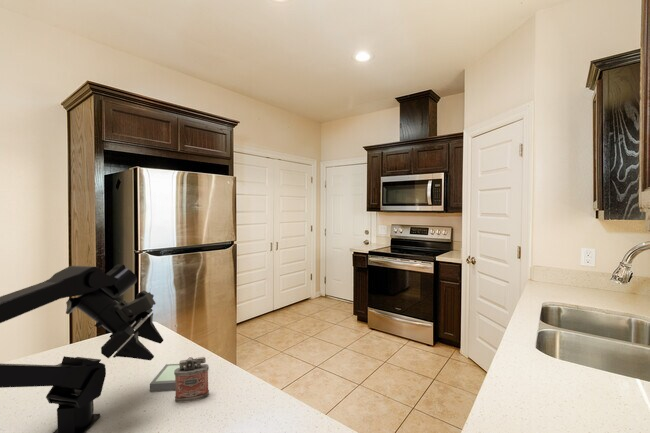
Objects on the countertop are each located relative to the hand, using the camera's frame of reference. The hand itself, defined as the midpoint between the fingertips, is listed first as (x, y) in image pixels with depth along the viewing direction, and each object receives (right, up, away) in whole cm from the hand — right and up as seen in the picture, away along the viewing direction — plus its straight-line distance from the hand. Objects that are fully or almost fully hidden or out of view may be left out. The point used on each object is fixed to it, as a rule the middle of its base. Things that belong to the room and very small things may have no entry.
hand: (157, 349), depth 76 cm
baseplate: (0, -13, +10) cm, 16 cm away
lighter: (+8, -13, +2) cm, 16 cm away
